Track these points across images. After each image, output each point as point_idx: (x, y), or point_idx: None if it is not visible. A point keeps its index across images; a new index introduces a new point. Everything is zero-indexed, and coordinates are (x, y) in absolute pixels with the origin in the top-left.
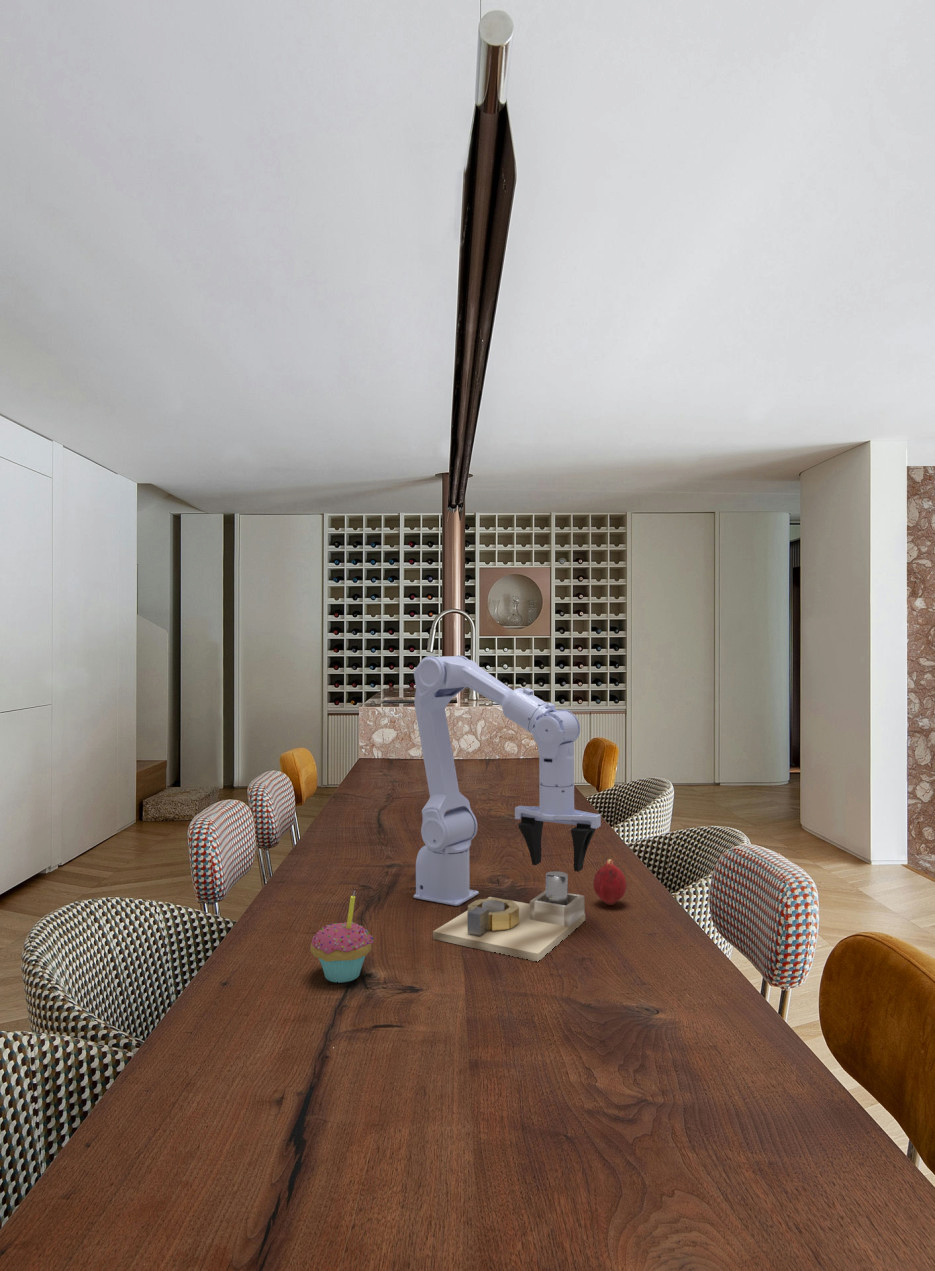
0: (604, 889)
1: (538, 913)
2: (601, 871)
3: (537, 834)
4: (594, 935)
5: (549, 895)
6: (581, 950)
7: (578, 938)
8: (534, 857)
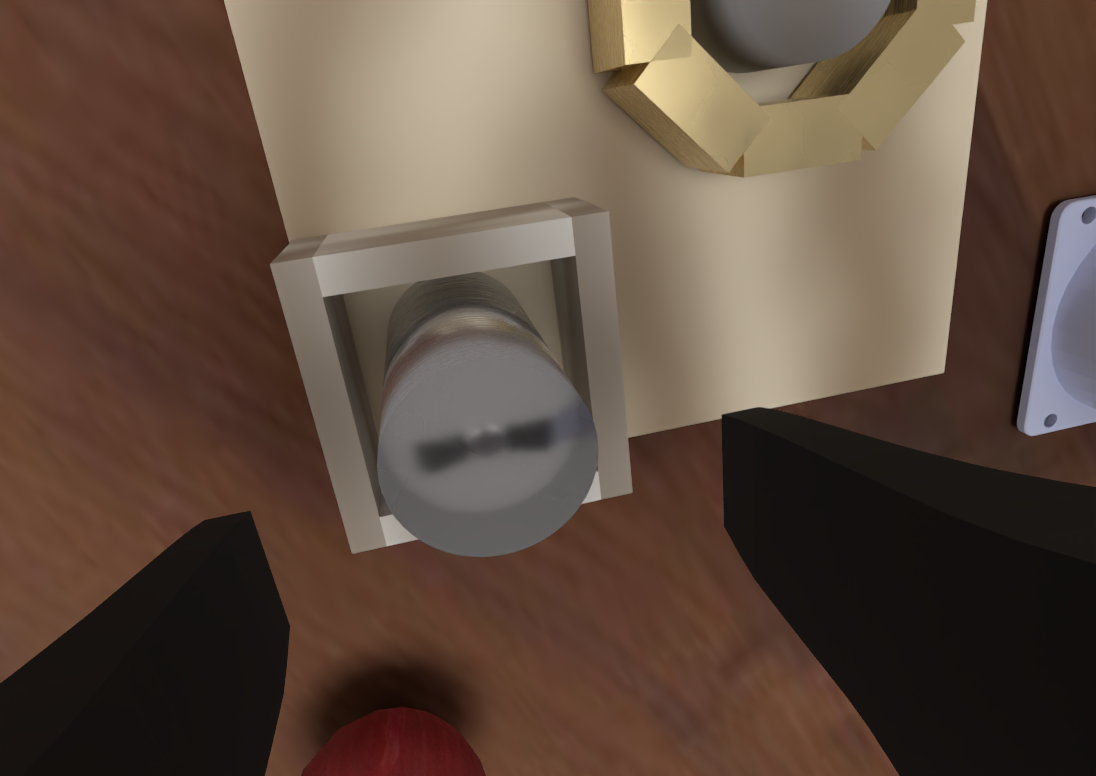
0: (369, 748)
1: (523, 212)
2: None
3: (977, 735)
4: (170, 321)
5: (486, 307)
6: (47, 28)
7: (213, 214)
8: (773, 431)
